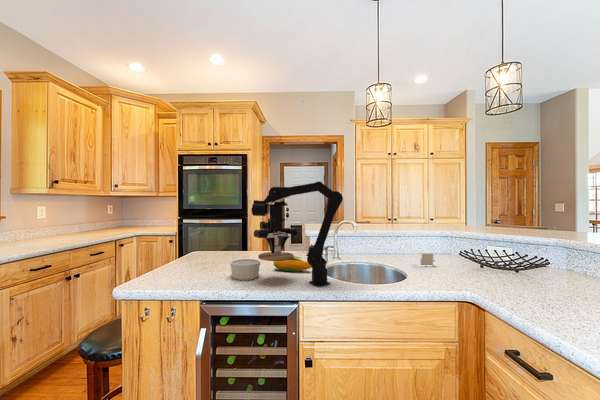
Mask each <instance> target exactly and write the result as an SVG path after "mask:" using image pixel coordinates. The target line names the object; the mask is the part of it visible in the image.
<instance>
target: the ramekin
mask: <svg viewBox="0 0 600 400" xmlns="http://www.w3.org/2000/svg"><path fill="white" fill-rule="evenodd" d="M260 266H261V260H260V259H255V258H239V259H234V260H232V261H230V270H231V276H232V278H233V279H234V280H235V281H236V280H237V281H250V280H253V279H254V280H255V279H256V278H258V276H259V273H260Z"/></svg>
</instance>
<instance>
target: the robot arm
mask: <svg viewBox="0 0 600 400" xmlns="http://www.w3.org/2000/svg"><path fill="white" fill-rule="evenodd" d="M314 192H315V193H316V192H319V194H321V195H323V196H324V197H325V198H326V199H327V204H326V212H325V215H324V218H323V221H322V224H321V226H320V229H319V230H318V235H317V238H316V240H315V243H314V244H310V245H309V247H308V252H307V254H306V255H305V256H306V261H307V262H308V263H309V265H311V280H309V282H308V283H309V284H311V285H314V286H315V287H321V286H327V285H330V284H331V282H329V281H328V269H327V268H326V267H327V264H328V261H327V260H326V259H325V258H324V257H323V255H324V254H323V253H324V247H325V243H326V240H327V237H328V235H329V232H330V229H331V226H332V223H333V222H334V217H335V214H336V213H337V212H338V210H339V208H340V206H341V204H342V203H343V199H344V197H343V195H342V193H341V192H340V191H337V190H336V191H335V190H332V189H331V188H330V187H328V186H326V184H324V183H323V181H315V182H310V183H305V184H299V185H293V186H272V187H271V188H270V189H269V191H268V195H267V196H266V197H265V199H264V200H258V199H257V200H256V199H254V200H253V204H252V205H251V206H252V207H251V214H252V216H253V217H254V216H255V217H267V216H268V215H269V218H267V222H266V221H265V220H264V221H260V222H259V229H254V232H253V237H255V238H258V239H264V240H266V241H267V243H268V246H269V249H270V252H272V253H274V245H276V243H275V242H276V241H275V240H276V238H275V237H274V236H276V235H277V238H278V244H277V245H279V246H281V251H283V248H284V246H285V244H286V242H287V240H288V238H290V236H289V235H291V236H298V234H299V233H298V231H299V230H297V228H294V227H285V228H284V222H285V218H284V207H288V205H289V204H288V202H286V201H285V200H284V199H288V198H289V197H292V196H297V195H303V194H308V193H314Z"/></svg>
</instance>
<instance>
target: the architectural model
mask: <svg viewBox="0 0 600 400" xmlns="http://www.w3.org/2000/svg"><path fill="white" fill-rule="evenodd" d="M419 260H420V264H421V265H433V266H434V262H436V260H435V259H434V253H428V252H427V253H421V257H420V259H419Z"/></svg>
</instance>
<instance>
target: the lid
mask: <svg viewBox="0 0 600 400" xmlns="http://www.w3.org/2000/svg"><path fill="white" fill-rule="evenodd" d="M294 256H295V254H293V253H291V252H286V251H282V250H281V246H279V245H278V244H275V245H274V253H272V252H271V251H268V252H263V253H259V254H258V257H257V258H258V260H260V261H267V262H274V261H285V260H290V259H292V258H294Z"/></svg>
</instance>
